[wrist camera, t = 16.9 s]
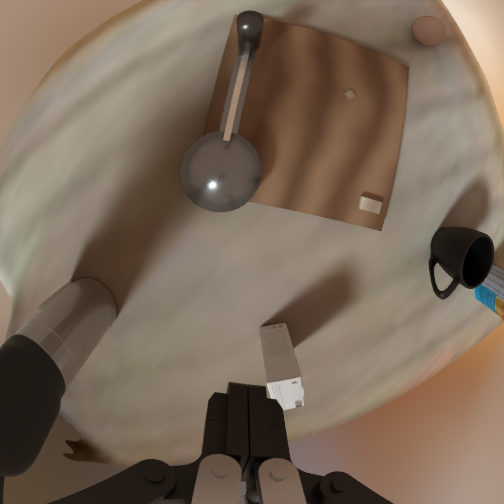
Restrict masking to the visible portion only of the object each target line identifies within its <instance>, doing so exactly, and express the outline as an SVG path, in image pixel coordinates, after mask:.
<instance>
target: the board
mask: <svg viewBox="0 0 504 504" xmlns="http://www.w3.org/2000/svg"><path fill="white" fill-rule="evenodd" d="M237 16H238V15H235V16H234V20H233V23H232V26H231V29H230V33H229V36H228V40H227V43H226V47H225V50H224V54H223V57H222V61H221V65H220V69H219V73H218V76H217V80H216V84H215V88H214V93H213V97H212V101H211V105H210V110H209V114H208V119H207V123H206V128H205V133H204V135H206V134H209V133H212V132H219V130H220V125H221V120H222V116H223V111H224V107H225V102H226V98H227V94H228V89H229V85H230V81H231V77H232V73H233V69H234V65H235V61H236V57H237V53H238V49H239V48H238V44H237V23H236V19H237ZM408 71H409V67H407V66H405V65H403V64H401V63H399V62H397V61H395V60H393V59H391V58H388V57H386V56H384V55H382V54H380V53H377V52H375V51H373V50H370V49H368V48H365V47H363V46H360V45H358V44H355V43H352V42H350V41H347V40H344V39H341V38H338V37H335V36H332V35H329V34H326V33H322V32H319V31H316V30H312V29H308V28H305V27H301V26H297V25H293V24H288V23H284V22H279V21H274V20H269V19H264V22H263V29H262V36H261V43H260V47H259V49H258V50H257V51H256V55H255V59H254V63H253V67H252V71H251V76H250V80H249V84H248V89H247V93H246V97H245V102H244V106H243V111H242V116H241V120H240V125H239V130H238V135H239V136H241V137H243V138H244V139H246V140H247V141H248V142H249V143H250V144H252V146H253V147H254V148H255V150H256V151H257V153H258V155H259V158H260V161H261V166H262V176H261V181H260V185H259V187H258V189H257V191H256V193H255V194H254V196H253V197H252V198H251V199H250V200H249V202H254V203H259V204H264V205H269V206H274V207H279V208H284V209H289V210H293V211H298V212H303V213H307V214H312V215H316V216H321V217H325V218H330V219H334V220H338V221H342V222H347V223H351V224H355V225H359V226H363V227H367V228H371V229H375V230H379V231H381V230H382V227H383V223H384V219H385V215H386V211H387V207H388V203H389V199H390V194H391V190H392V186H393V181H394V176H395V171H396V166H397V161H398V155H399V149H400V143H401V137H402V130H403V123H404V115H405V107H406V97H407V86H408Z"/></svg>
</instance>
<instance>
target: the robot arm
mask: <svg viewBox="0 0 504 504" xmlns="http://www.w3.org/2000/svg"><path fill="white" fill-rule="evenodd" d="M116 315H117V308H116V303H115V300H114V298H113V296H112V294H111V293H110V292H109V290H108V289H107V288H106V287H105V286H104V285H103V284H102V283H100V282H99V281H97V280H95V279H92V278H81V279H78V280H77V281H75V282H72V281H69V282H68V283H67V284H65V285H64V286H63V287H62V288H60V289H59V290H58V291H57V292H55V293H54V294H53V295H52V296H50V297H49V298H48V299H47V300H45V301H44V302H43V303H42V304H40V305H39V307H38V313H37V314H36V315H35V316H33V317H32V318H31V319H30V320H29V321H28V322H27V323H26V324H25V325H24V326H22V327H21V328H20V329H19V330H18V331H17V332H16V333H15V334H14V335H13V336H11V337H10V338H9V339H8V340H7V341H6V342H5V343H4V344H3V345H2V346H1V348H0V504H3V490H4V480H5V476H7V477H14V476H18V475H21V474H23V473H24V472H25V471H27V469H29V468H30V467H31V465H32V464H33V463H34V461H35V459H36V458H37V456H38V454H39V452H40V450H41V448H42V446H43V444H44V442H45V440H46V438H47V436H48V434H49V432H50V430H51V428H52V426H53V424H54V422H55V420H56V418H57V416H58V413H59V410H60V404H61V398H62V396H63V394H64V393H65V391H66V390H67V388H68V387H69V385H70V384H71V382H72V381H73V379H74V378H75V376H76V375H77V373H78V372H79V370H80V369H81V367H82V366H83V364H84V363H85V361H86V360H87V358H88V357H89V356H90V354H91V353H92V351H93V350H94V348H95V347H96V346H97V344H98V343H99V341H100V340H101V339H102V337H103V336H104V335H105V333H106V332H107V330H108V329H109V328H110V327H111V325H112V324H113V322H114V321H115V319H116ZM241 481H243V482H246V492H245V494H244V503H245V504H393V503H392V502H390V501H388V500H387V499H385V498H383V497H382V496H380V495H379V494H377V493H375V492H374V491H372V490H371V489H369V488H368V487H366V486H365V485H363V484H362V483H360V482H359V481H357V480H356V479H354V478H353V477H352V476H350V475H348V474H347V473H344V472H338V471H337V472H331V473H329V474H327V475H325V476H320V475H315V474H310V473H306V472H304V471H301V470H300V469H298V468H297V467H296V466H295V465H294V464H293V463H292V461H291V459H290V454H289V447H288V440H287V434H286V428H285V421H284V414H283V408H282V407H281V405H280V404H279V402H278V401H277V399H270V398H267V394H266V387H265V386H259V385H249V384H241V383H233V382H229V383H228V388H227V392H226V394H224V393H217V392H215V393H214V394H213V395H212V397H211V398H210V399H209V401H208V407H207V414H206V420H205V428H204V436H203V445H202V454H201V456H200V457H199V458H198V459H197V460H196V461H195V462H193V463H191V464H188V465H180V466H169V465H168V464H166V463H165V462H162V461H160V460H156V459H146V460H143V461H140V462H139V463H137V464H135V465H133V466H131V467H129V468H128V469H126V470H124V471H122V472H120V473H118V474H116V475H114V476H112V477H110V478H108V479H106V480H104V481H102V482H100V483H97V484H96V485H93V486H91V487H88V488H86V489H84V490H82V491H79V492H77V493H75V494H72V495H69V496H67V497H65V498H62V499H59V500H57V501H54V502H51V503H48V504H239V496H240V486H241Z"/></svg>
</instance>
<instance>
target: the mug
mask: <svg viewBox="0 0 504 504" xmlns="http://www.w3.org/2000/svg"><path fill="white" fill-rule="evenodd" d="M431 253H432V256H431V257H430V259H429V271H430V277H431V283H432V287H433V291H434V293H435V294H436V295H437V296H438V297H439V298H440V299H446V298H447V297H448V296H450V295H451V293H452V292H453V291H454V290H455V288H456V287H457V286H458V284H459V283H460V284H461V285H463V286H464V287H466V288H468V289H474V288H476V287H478V286H479V285H481V284H482V283H483V282H484V280H485V279H486V278H487V276H488V274H489V272H490V270H491V267H492V264H493V260H494V245H493V242H492V239H491V238H490V237H489V236H488V235H487V234H485V233H482V232H480V231H477V230H474V229H470V228H465V227H448V228H445V227H444V228H441V229H439V230H438V231H437V232H436V233H435V234H434V236H433V238H432V241H431ZM437 262H438V263H439V265H440V266H441V267H442V268H443V270H444V271H445V272H446V273H447V274H448V275H449V276H450V277H452V278H453V281H452V282H451V284H450V285H449V286H448V288H447V289H445V290H444V291H440V290H439V289H438V288H437V285H436V282H435V277H434V267H435V265H436V263H437Z"/></svg>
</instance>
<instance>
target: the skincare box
mask: <svg viewBox="0 0 504 504" xmlns="http://www.w3.org/2000/svg"><path fill="white" fill-rule="evenodd" d="M259 332H260V339H261V346H262V353H263V360H264V367H265V373H266V381H267V386H268V390H269V393H270V397H271V399H277V401H278V402H279V404H280V405H281V407H282V408H283V410H287V409H291V408H296V407H300V406H304V405H305V398H304V389H303V383H302V376H301V372H300V369H299V365H298V362H297V359H296V356H295V352H294V349H293V345H292V342H291V338H290V335H289V332H288V328H287V325H286V323H280V324H274V325H269V326H264V327H260V328H259Z"/></svg>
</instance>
